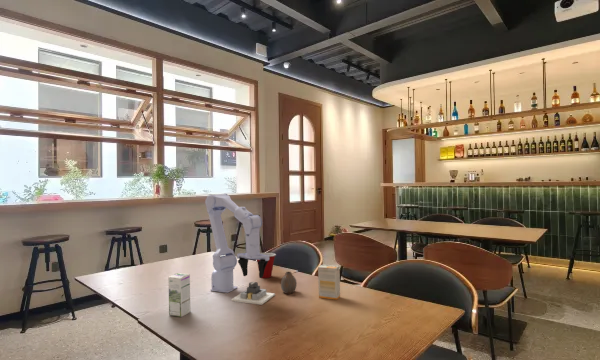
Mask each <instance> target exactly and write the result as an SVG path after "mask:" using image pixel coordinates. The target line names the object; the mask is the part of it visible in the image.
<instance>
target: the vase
mask: <svg viewBox="0 0 600 360" xmlns="http://www.w3.org/2000/svg"><path fill="white" fill-rule="evenodd" d="M280 281H281V282H280V287H281V290H282V292H284V293H285V294H292V293H294V292H295V291H296V289H297V279H296V277H295V276H294V275H293V273H292V272H291V271H285V273H284V275H283V277H282V278H281V280H280Z"/></svg>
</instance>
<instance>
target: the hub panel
mask: <svg viewBox="0 0 600 360" xmlns="http://www.w3.org/2000/svg"><path fill="white" fill-rule="evenodd" d="M275 296H276V293H275V292H274V293H273V292H267V289H265V288H260V292H259V293H257V294H252V299H248V297H247V289H245V290H244V291H242V292H239V294H238V295H236V296H233V297H232V298H231V301H232V302H236V303H246V304H253V305H260V306H263V305H264V304H265V303H266V302H268V301H269V300H270V299H272V298H273V297H275Z"/></svg>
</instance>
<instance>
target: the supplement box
mask: <svg viewBox="0 0 600 360" xmlns="http://www.w3.org/2000/svg"><path fill="white" fill-rule="evenodd" d="M340 270H341V269H340V265H331V264H321V265H319V266H318V267H317V271H318V272H317V274H318V276H317V278H318V281H317V282H318V298H319V299H327V300H328V299H329V300H335V301H337V300H339V299H340V298H341V277H340V273H341V272H340Z"/></svg>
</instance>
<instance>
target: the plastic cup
mask: <svg viewBox="0 0 600 360" xmlns="http://www.w3.org/2000/svg"><path fill="white" fill-rule="evenodd" d="M260 254H263V255H269V260H268V263H267V265H266V267H265V270H264V274H263V277H262V278H261V279H269V278H272V276H273V275H272V274H273V269H274V268H273V267H274V261H275V258H276V256H277V254H276V253H274V252H273V253H272V252H260ZM258 261H260V260H256V263H257V264H258ZM257 267H258V270H259V266H258V265H257Z"/></svg>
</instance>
